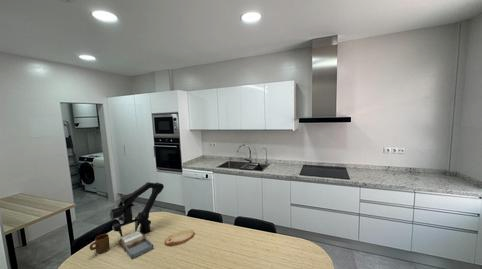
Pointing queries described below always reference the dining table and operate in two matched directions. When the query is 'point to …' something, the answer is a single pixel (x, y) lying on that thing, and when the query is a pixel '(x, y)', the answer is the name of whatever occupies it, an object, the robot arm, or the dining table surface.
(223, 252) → the dining table surface
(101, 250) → the mug
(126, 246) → the board
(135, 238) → the tile
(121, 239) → the tile
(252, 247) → the dining table surface
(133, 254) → the tray
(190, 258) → the dining table surface
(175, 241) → the slice of bread
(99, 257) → the dining table surface
